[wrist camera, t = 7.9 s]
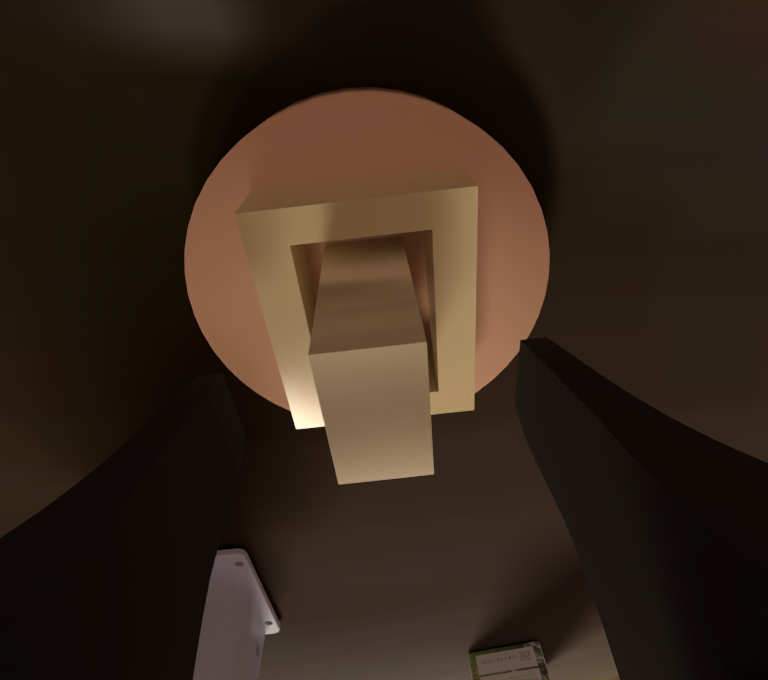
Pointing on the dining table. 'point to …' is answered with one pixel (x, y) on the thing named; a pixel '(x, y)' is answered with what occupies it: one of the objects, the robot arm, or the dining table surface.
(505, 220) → the tan rounded piece
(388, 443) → the tall wooden block
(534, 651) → the syrup box
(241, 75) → the dining table surface
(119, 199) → the dining table surface
